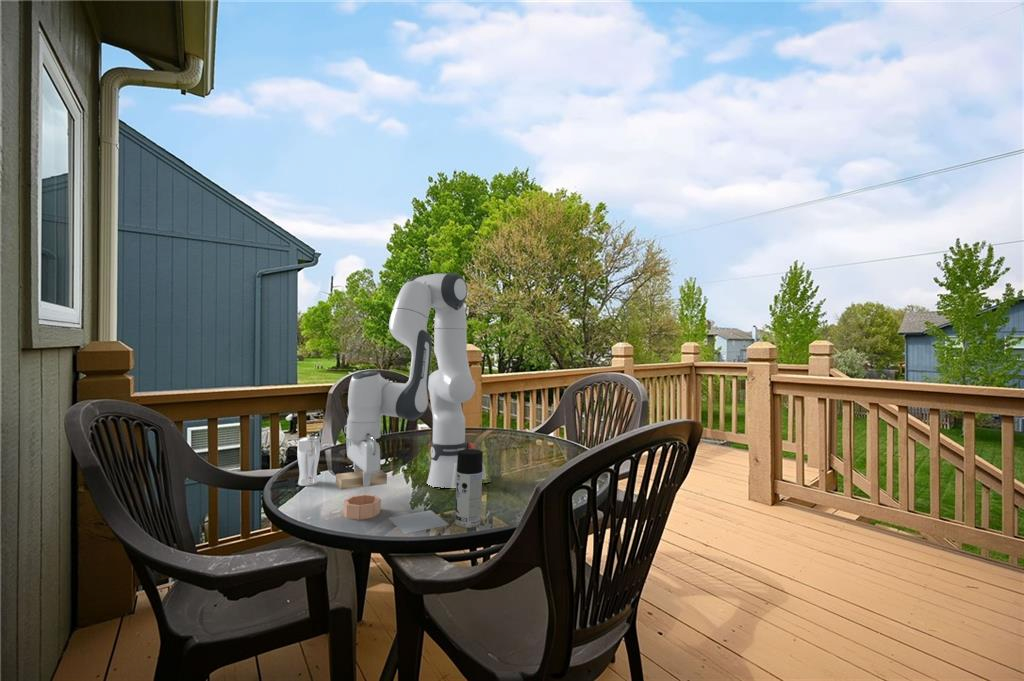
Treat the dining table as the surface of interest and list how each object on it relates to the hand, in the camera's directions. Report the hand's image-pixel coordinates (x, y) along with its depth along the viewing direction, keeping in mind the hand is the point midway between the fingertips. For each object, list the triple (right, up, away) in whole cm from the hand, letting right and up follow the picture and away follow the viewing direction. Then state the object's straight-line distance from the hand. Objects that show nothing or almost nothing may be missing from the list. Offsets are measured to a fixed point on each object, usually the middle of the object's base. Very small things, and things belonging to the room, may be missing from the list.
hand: (362, 482), depth 128 cm
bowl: (0, -10, 0) cm, 10 cm away
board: (0, 0, 0) cm, 0 cm away
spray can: (+29, -11, -5) cm, 32 cm away
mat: (+16, -10, -5) cm, 20 cm away
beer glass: (-28, -10, +30) cm, 42 cm away
